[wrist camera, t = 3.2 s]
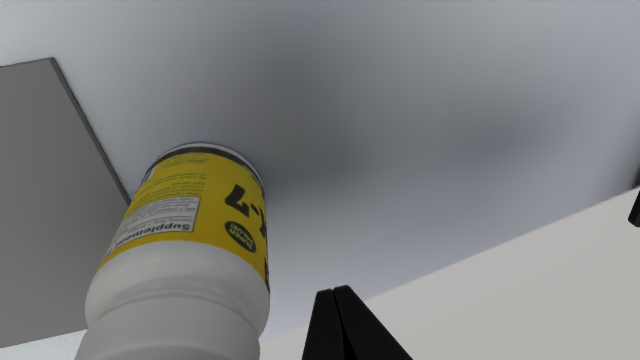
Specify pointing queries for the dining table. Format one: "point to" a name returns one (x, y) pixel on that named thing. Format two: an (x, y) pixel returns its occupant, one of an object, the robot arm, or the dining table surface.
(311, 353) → the robot arm
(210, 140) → the dining table surface
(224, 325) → the supplement bottle
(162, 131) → the dining table surface
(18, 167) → the mat
